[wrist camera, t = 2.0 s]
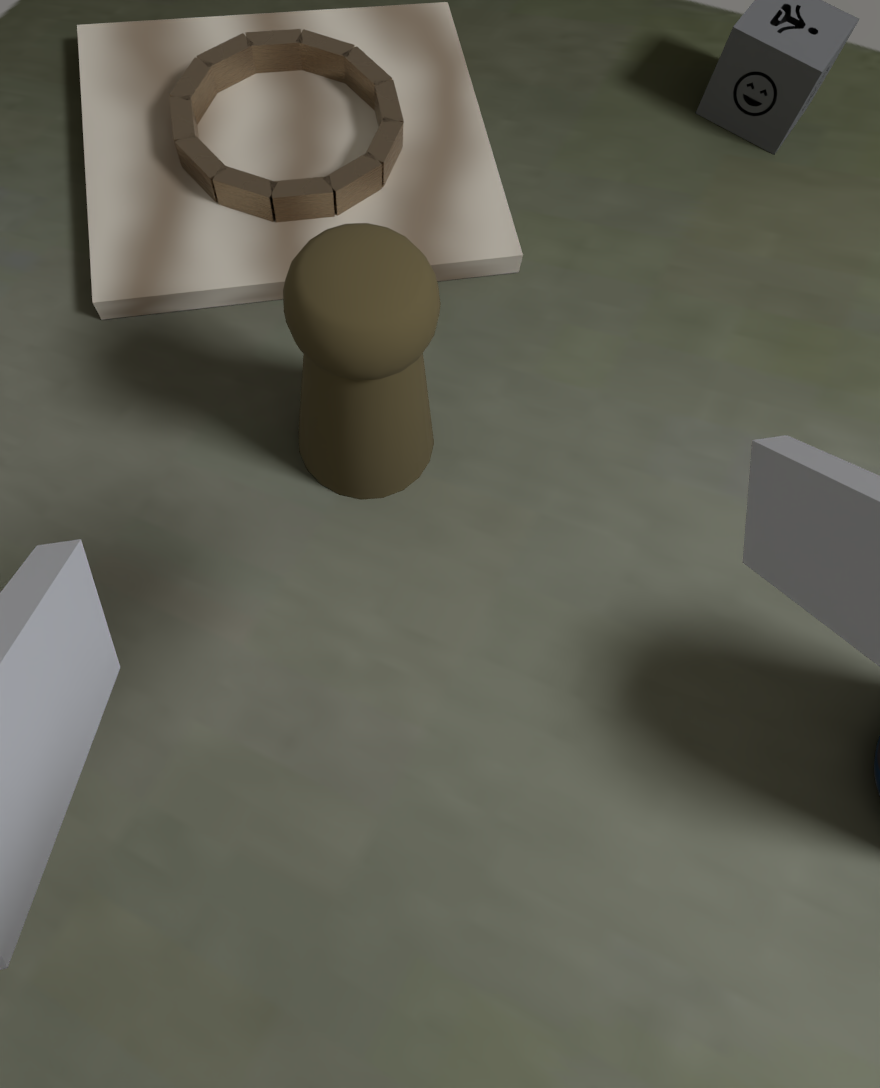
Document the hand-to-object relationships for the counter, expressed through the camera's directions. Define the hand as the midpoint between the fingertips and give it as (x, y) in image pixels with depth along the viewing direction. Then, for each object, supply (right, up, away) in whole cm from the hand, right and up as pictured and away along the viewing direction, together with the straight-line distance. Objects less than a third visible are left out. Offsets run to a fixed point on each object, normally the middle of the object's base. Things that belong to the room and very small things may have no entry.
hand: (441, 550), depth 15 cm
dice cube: (+18, +25, +29) cm, 42 cm away
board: (-8, +20, +25) cm, 33 cm away
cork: (-3, +5, +19) cm, 20 cm away
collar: (-8, +21, +24) cm, 32 cm away
